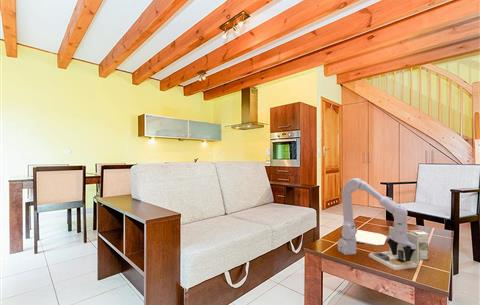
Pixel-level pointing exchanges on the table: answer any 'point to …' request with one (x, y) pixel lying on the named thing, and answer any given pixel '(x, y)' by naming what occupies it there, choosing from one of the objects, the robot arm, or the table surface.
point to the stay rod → (401, 256)
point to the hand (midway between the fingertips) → (400, 257)
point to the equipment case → (391, 259)
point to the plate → (370, 238)
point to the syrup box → (422, 244)
